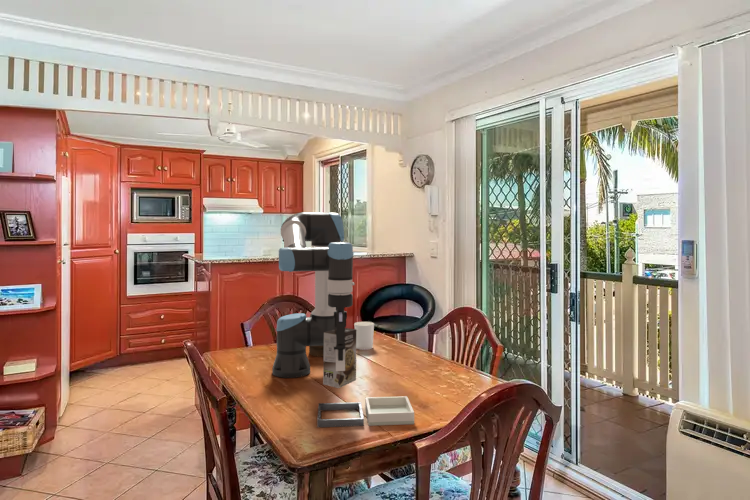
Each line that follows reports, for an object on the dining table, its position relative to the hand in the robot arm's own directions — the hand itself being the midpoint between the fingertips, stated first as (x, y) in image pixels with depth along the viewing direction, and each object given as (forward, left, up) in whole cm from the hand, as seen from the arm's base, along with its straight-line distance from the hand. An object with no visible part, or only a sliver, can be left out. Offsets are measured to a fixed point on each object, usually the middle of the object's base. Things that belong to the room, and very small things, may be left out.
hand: (340, 364), depth 141 cm
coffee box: (0, 0, -6) cm, 6 cm away
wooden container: (-6, +77, -16) cm, 79 cm away
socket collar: (0, 0, -16) cm, 16 cm away
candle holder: (+13, +85, -16) cm, 87 cm away
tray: (+15, 0, -16) cm, 22 cm away
